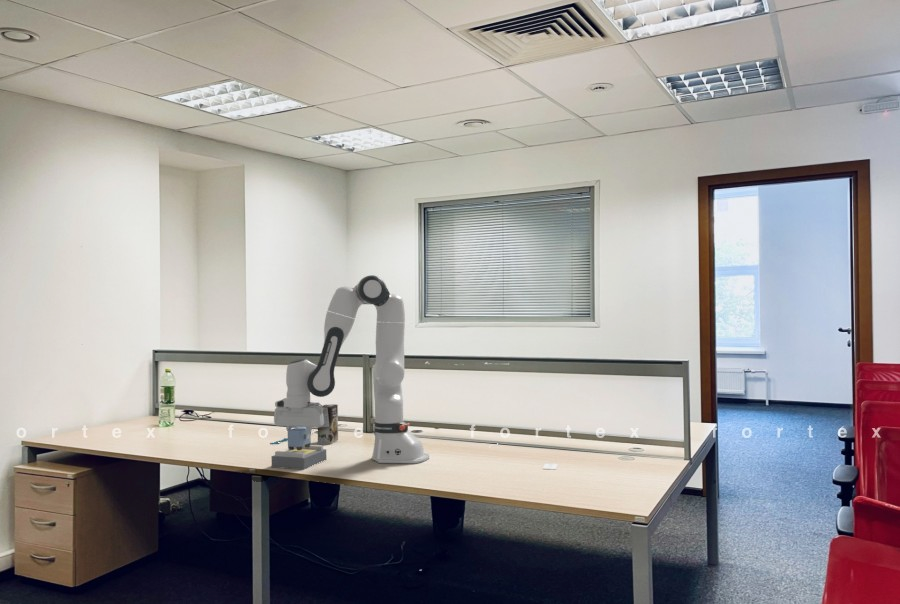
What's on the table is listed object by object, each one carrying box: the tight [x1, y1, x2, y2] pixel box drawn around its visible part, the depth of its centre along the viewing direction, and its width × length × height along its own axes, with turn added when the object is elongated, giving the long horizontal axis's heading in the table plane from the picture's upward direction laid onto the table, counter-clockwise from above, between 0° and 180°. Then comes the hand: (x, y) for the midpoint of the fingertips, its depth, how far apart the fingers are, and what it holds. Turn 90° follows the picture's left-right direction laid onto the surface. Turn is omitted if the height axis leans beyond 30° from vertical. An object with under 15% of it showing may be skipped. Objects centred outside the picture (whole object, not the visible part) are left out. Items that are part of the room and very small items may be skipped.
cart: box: [287, 427, 312, 450], centre depth 254 cm, size 5×8×8 cm, turn 160°
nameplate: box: [269, 437, 288, 445], centre depth 308 cm, size 37×1×5 cm
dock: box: [271, 444, 327, 470], centre depth 254 cm, size 14×16×6 cm
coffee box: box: [317, 404, 339, 445], centre depth 294 cm, size 9×6×16 cm
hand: (299, 438), depth 254 cm, fingers open, 5 cm apart
